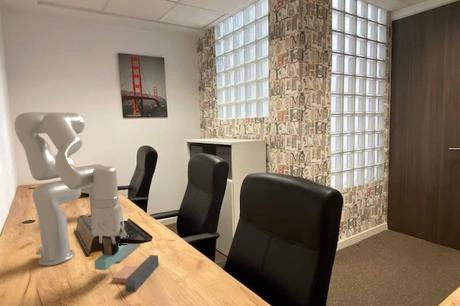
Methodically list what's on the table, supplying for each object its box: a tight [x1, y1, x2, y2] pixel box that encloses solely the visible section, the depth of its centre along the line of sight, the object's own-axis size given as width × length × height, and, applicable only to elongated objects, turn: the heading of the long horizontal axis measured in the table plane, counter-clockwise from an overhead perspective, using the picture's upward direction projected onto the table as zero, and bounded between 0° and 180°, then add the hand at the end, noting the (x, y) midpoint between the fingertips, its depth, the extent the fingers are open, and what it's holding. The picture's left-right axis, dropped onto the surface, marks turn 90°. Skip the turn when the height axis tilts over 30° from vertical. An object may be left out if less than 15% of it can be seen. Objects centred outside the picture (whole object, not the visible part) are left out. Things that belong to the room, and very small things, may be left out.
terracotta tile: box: [112, 265, 139, 284], centre depth 100 cm, size 8×8×2 cm
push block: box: [94, 236, 126, 271], centre depth 100 cm, size 4×12×9 cm, turn 169°
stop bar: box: [125, 254, 160, 293], centre depth 98 cm, size 3×17×4 cm, turn 169°
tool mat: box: [114, 243, 141, 264], centre depth 119 cm, size 10×16×1 cm, turn 169°
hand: (110, 252), depth 100 cm, fingers closed on push block, 3 cm apart
